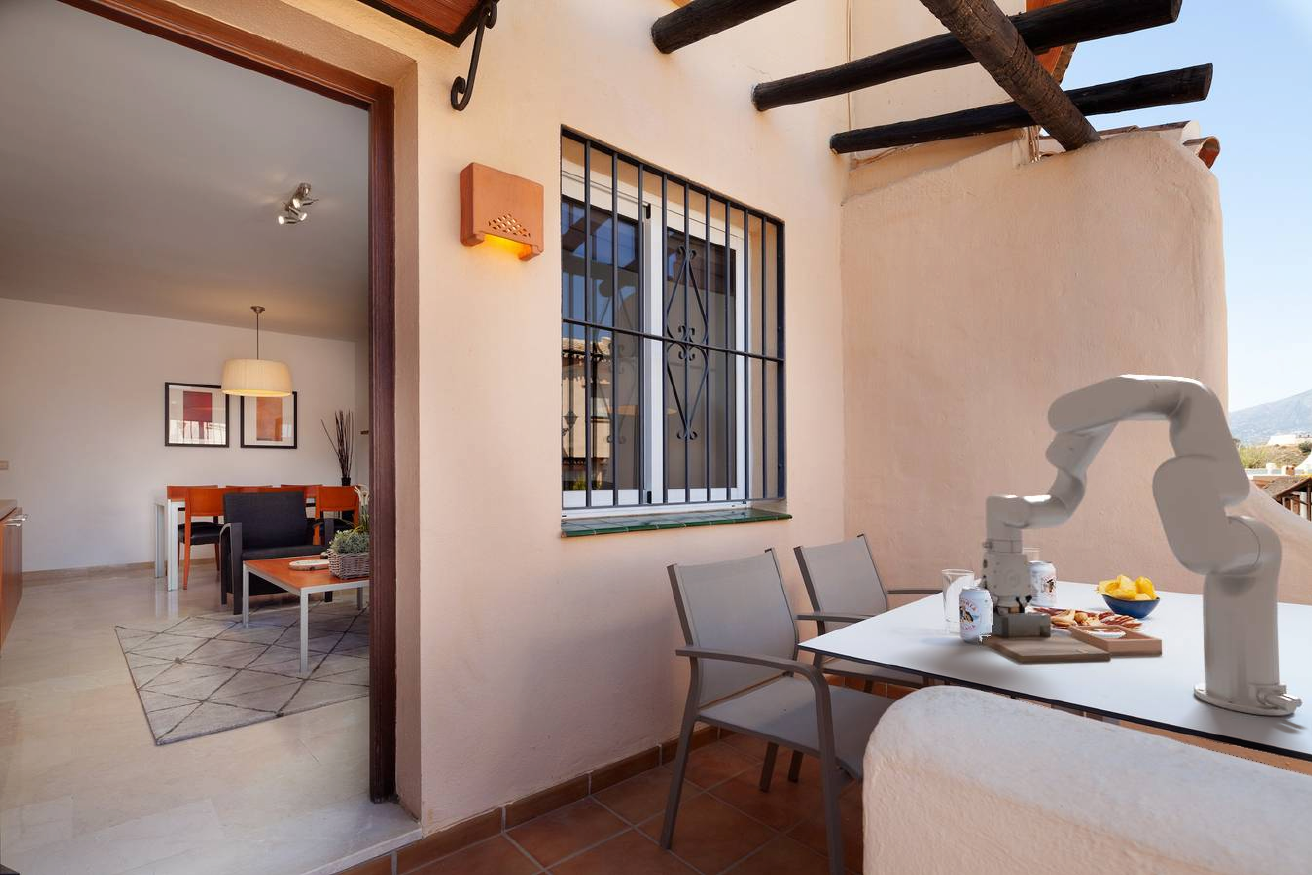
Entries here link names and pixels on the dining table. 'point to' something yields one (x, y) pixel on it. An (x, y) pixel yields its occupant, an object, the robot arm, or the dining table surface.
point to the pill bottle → (1007, 605)
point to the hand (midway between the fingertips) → (1005, 622)
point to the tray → (1118, 641)
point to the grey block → (1021, 624)
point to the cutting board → (1045, 648)
